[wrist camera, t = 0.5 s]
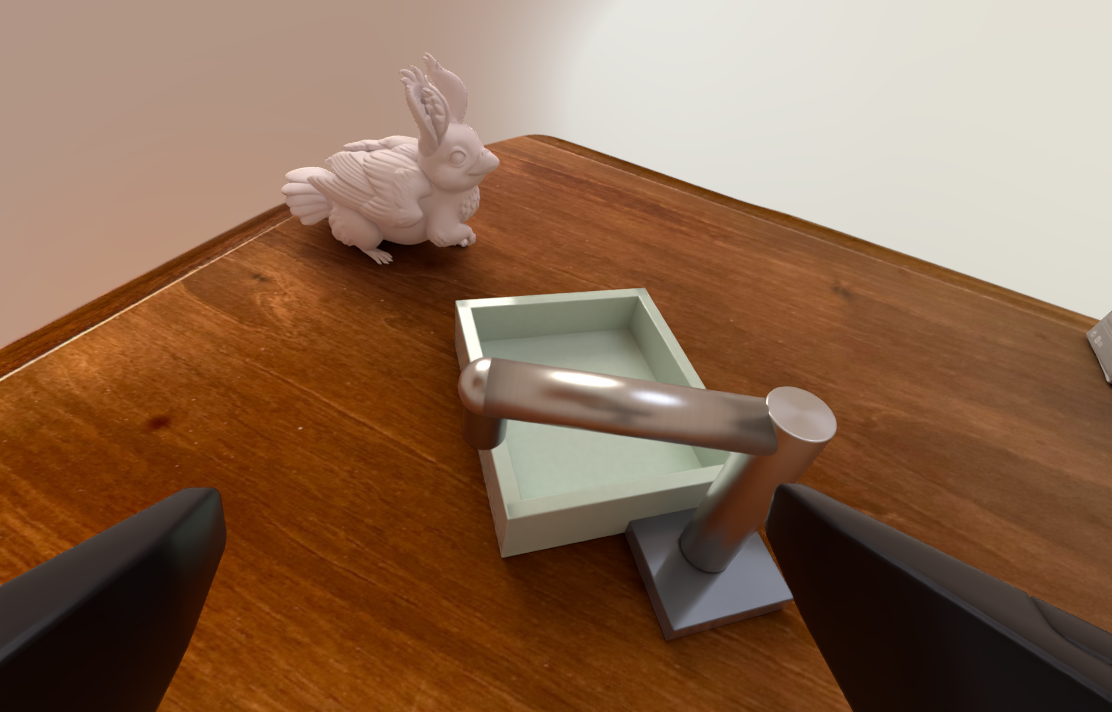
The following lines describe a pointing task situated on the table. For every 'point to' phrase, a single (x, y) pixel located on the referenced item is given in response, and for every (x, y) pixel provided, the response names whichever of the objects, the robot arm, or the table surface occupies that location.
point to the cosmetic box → (1103, 344)
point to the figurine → (402, 176)
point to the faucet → (663, 434)
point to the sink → (610, 456)
